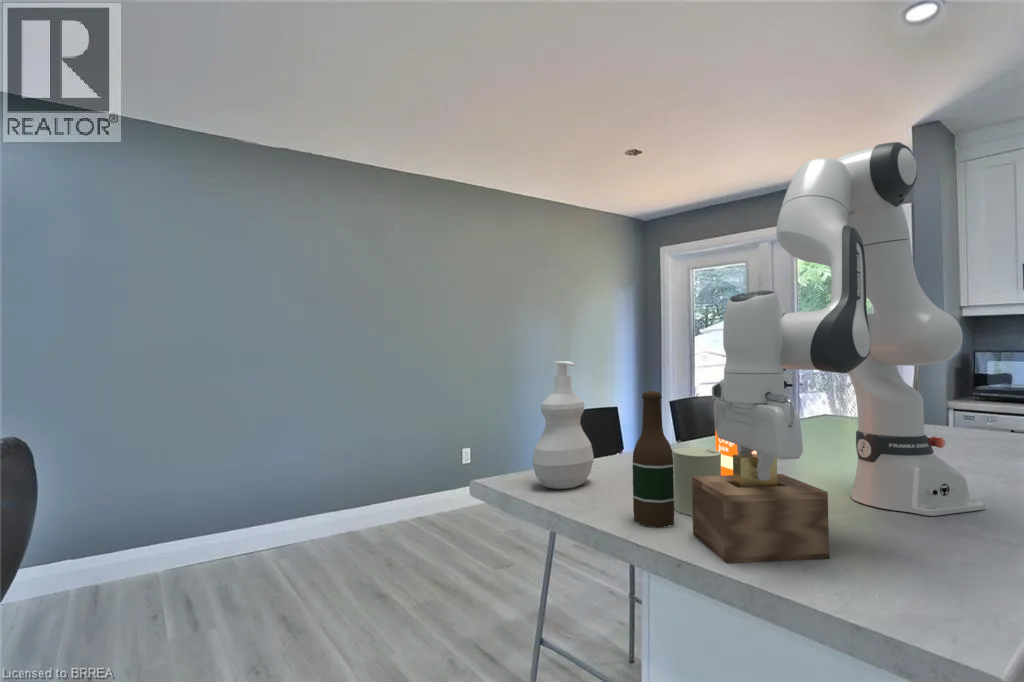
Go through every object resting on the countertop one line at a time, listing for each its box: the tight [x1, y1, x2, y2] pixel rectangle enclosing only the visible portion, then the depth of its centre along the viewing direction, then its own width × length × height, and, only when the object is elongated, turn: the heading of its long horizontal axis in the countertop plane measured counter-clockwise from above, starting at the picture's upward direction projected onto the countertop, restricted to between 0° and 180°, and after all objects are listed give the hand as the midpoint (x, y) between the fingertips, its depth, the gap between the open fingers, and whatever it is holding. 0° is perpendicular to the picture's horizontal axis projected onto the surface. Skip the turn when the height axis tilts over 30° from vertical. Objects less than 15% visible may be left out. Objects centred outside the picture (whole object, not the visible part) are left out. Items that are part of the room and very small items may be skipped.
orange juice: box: [714, 430, 757, 476], centre depth 116 cm, size 8×9×20 cm
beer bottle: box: [632, 390, 675, 528], centre depth 98 cm, size 8×8×24 cm
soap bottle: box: [532, 360, 595, 490], centre depth 125 cm, size 17×12×29 cm
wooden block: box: [733, 454, 778, 488], centre depth 85 cm, size 6×2×5 cm, turn 94°
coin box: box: [692, 473, 830, 564], centre depth 85 cm, size 16×12×10 cm
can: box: [672, 446, 721, 516], centre depth 105 cm, size 9×9×12 cm
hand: (755, 476), depth 85 cm, fingers closed on wooden block, 2 cm apart
